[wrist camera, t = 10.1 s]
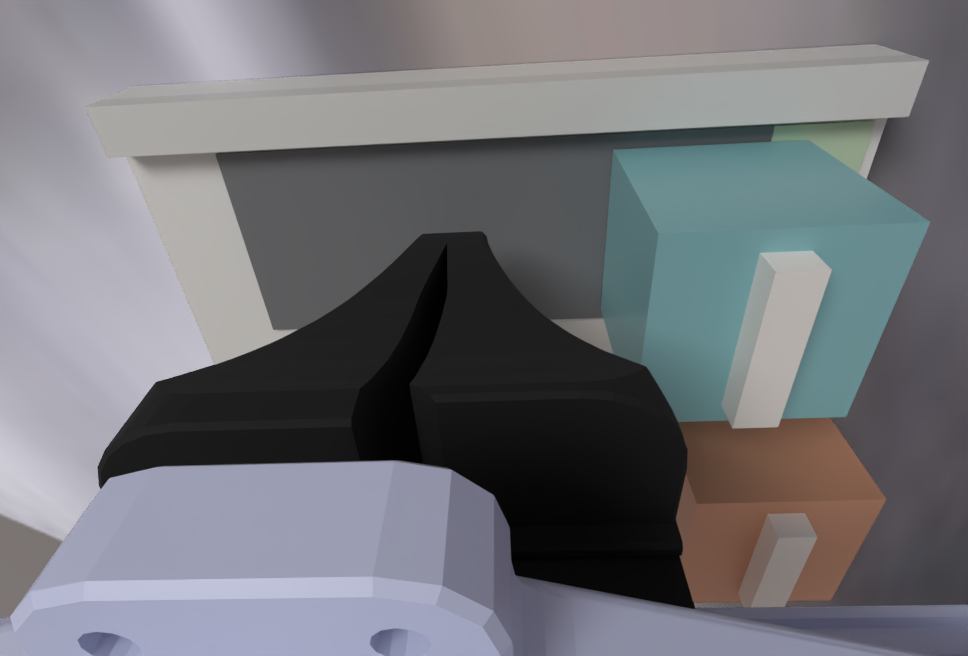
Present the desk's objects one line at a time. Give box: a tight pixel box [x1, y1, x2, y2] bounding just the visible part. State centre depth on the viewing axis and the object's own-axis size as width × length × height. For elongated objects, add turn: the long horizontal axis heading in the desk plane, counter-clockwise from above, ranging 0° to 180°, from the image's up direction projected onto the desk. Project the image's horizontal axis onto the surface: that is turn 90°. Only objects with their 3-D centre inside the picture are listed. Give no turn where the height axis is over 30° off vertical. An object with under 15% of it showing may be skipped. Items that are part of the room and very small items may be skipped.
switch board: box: [85, 44, 929, 365], centre depth 16 cm, size 16×15×2 cm
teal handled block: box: [601, 140, 930, 429], centre depth 11 cm, size 4×4×5 cm
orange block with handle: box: [676, 417, 887, 607], centre depth 15 cm, size 4×4×5 cm
